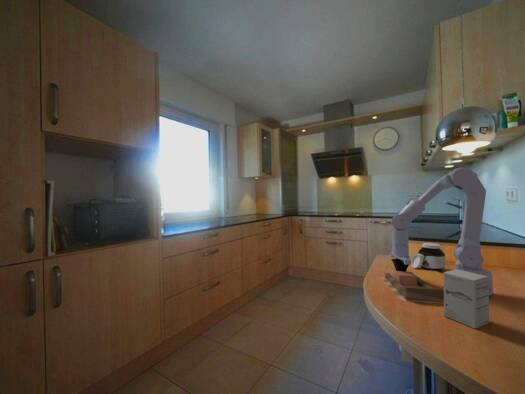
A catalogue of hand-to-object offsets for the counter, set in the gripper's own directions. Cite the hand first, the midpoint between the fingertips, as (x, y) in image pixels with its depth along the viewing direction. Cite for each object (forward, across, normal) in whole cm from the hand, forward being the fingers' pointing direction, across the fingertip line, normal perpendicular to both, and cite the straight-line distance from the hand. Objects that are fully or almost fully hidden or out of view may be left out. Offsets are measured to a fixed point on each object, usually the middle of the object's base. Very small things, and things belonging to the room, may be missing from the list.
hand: (400, 277), depth 92 cm
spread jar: (+2, -20, +18) cm, 27 cm away
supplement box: (+2, +29, +6) cm, 30 cm away
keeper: (+1, +4, 0) cm, 5 cm away
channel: (+1, +8, 0) cm, 9 cm away
